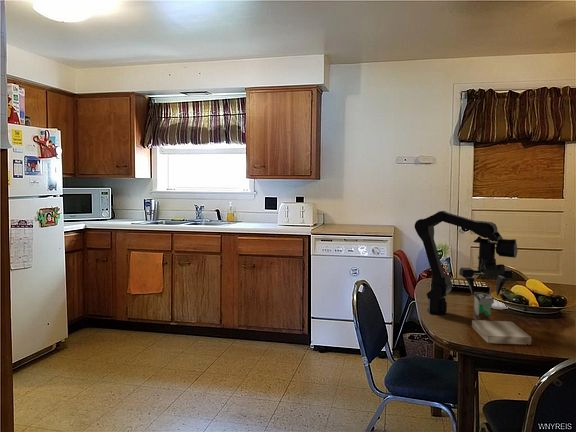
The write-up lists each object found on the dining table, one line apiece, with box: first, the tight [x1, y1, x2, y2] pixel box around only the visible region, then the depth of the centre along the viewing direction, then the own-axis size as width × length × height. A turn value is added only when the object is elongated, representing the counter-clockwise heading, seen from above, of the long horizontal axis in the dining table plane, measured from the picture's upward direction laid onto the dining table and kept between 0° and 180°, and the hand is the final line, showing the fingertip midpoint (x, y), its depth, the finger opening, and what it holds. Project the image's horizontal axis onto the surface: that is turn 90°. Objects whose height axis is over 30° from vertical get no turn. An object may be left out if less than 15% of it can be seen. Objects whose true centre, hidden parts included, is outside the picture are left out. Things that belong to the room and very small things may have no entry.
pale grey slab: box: [471, 319, 532, 346], centre depth 167 cm, size 14×18×3 cm
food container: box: [473, 291, 494, 321], centre depth 184 cm, size 12×6×10 cm, turn 168°
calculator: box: [491, 298, 508, 310], centre depth 208 cm, size 13×20×2 cm, turn 72°
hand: (485, 294), depth 183 cm, fingers open, 9 cm apart
